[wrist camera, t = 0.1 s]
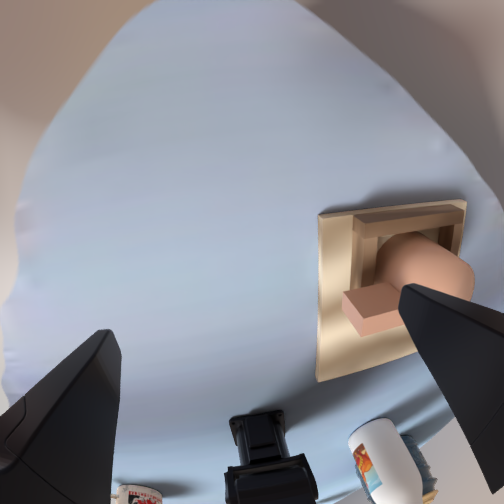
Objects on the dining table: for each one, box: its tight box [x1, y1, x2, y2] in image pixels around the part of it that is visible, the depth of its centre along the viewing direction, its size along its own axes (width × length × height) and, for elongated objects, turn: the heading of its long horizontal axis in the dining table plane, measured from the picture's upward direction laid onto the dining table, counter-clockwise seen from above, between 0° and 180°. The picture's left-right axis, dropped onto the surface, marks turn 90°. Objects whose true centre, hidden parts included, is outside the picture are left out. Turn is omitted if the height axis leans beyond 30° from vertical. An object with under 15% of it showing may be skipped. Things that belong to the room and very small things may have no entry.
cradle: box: [315, 199, 467, 382], centre depth 26 cm, size 18×16×3 cm
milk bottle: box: [348, 418, 423, 504], centre depth 30 cm, size 8×8×20 cm
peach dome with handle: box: [342, 231, 475, 337], centre depth 22 cm, size 11×7×6 cm, turn 96°
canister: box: [355, 435, 438, 504], centre depth 37 cm, size 13×13×18 cm
